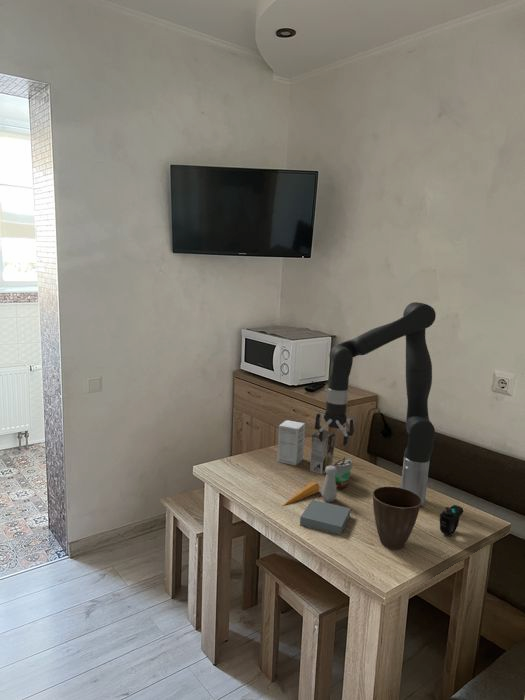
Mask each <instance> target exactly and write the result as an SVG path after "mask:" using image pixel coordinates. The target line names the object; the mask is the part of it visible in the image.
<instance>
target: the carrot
mask: <svg viewBox="0 0 525 700" xmlns="http://www.w3.org/2000/svg"><path fill="white" fill-rule="evenodd" d="M319 491H320V485H319V483H318V482H315V481H312V482H310V483H309V484H307V485H306V486H304V488H302V489H301V490H300V491H298V492H297V493H296V494H294V495H293V496H292V497H290V499H288V500H287V501H286V502H285V503H284V504H283V505H282V507H284V506H288V505H289V504H293V503H295V502H297V501H300V500H303V499H305V498H308V497H310V496H313V495H315V494H317V493H318V492H319Z"/></svg>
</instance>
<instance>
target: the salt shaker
mask: <svg viewBox="0 0 525 700" xmlns="http://www.w3.org/2000/svg"><path fill="white" fill-rule="evenodd" d="M336 473H337V468H336V467H335V466H327V467H326V469H325V474H326V475H325V478H324V482H323V484H322V489H321V492H320V494H321V498H322V500H323V501H324V502H325V503H332V502H334V501H335V500H336V498H337V494H338V491H337V489H336V482H335V474H336Z"/></svg>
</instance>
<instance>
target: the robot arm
mask: <svg viewBox="0 0 525 700" xmlns="http://www.w3.org/2000/svg"><path fill="white" fill-rule="evenodd" d="M436 315H437V313H436V310H435V309H434V307H432V306H431V305H429V304H427V303H423V302H417V301H416V302H415V301H414V302H410V303H409V304H408V305H406V307H405V308H404V310H403V315H402V317H400V318H398V319H397V320H394V321H392V322H390V323H387V324H384V325H379V326H377V327H375V328H374V327H373V328H371V329H370V330H368V331H366V332H364V333H362V334H360V335H358V336H356V337H355V338H354V337H353V338H352V339H348V340H346V341H343V342H340V343H338V344H336V345H335V346H333V347H331V349H330V351H329V359H330V360H331V362H332V371H331V372H330V373H329V377H328V388H327V392H326V401H325V402H326V403H325V413H322V412H320V411H319V412H318V413H317V414H316V416H315V421H314V430H317V431H318V432H319V440H320V441H321V442H323V440H324V430H325V429H326V428H327V427H329V428H331V429H332V428H334V429H337V430H338V429H339V430H340V431H341V432H342V434H343V441H342V446H343V447H345V446H347V445H348V443H349V437H350V436H353V435H354V434H355V422H356V421H355V418H354V417H352V418H347V411H348V410H347V408H348V399H349V398H348V397H349V380H350V379H349V378H350V375H351V371H352V368H353V362H354V360H353V359H354V358H356V357H358V356H365V355H368V354H369V353H371V352H374V351H376V350H377V349H380V348H381V347H383V346H385V345H387V344H389V343H391V342H393V341H395V340H397V339H400V338H402V337H404V336H405V385H406V386H405V387H406V396H407V397H406V398H407V406H406V407H407V408H406V418H405V419H406V420H405V429H406V432H407V434H408V438H407V445H406V446H407V447H406V448H405V449H404V453H403V454H404V456H403V461H402V462H403V465H402V472H401V473H402V474H401V483H400V488H403V489H406V490H409V491H411V492H413V493H415V494H417V495H418V496H419V497H420V499H421V505H420V507H425V503H426V495H427V488H428V478H429V468H430V462H431V461H430V460H431V456H432V455H433V451H434V450H433V449H434V445H435V444H434V443H435V439H436V438H435V437H436V430H435V426H434V424H433V423H432V421H431V419H430V417H429V408H428V402H429V401H428V399H429V395H430V392H431V390H432V383H433V363H432V359H431V356H430V352H429V350H428V349H429V348H428V345H427V341H426V329H428V328H430V327H431V326H432V325H434V323H435V321H436ZM322 420H324V421H325V423H324V424H323V425H322V426H321V421H322ZM346 423H347V424H348V425H349V429H348V427H347V426H346Z"/></svg>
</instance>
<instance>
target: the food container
mask: <svg viewBox="0 0 525 700" xmlns="http://www.w3.org/2000/svg"><path fill="white" fill-rule="evenodd" d="M330 466H335V467H336V468H337V473H336V474H335V482H336V490H343V489H346V488H348V486H349V479H350V474H351V470H352V469H353V462H352V460H351V459H350V458H348V457H346V456H343V458H342V459H341V460H338V461H336V462H335V463H333V464H332V465H331V464H330Z"/></svg>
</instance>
